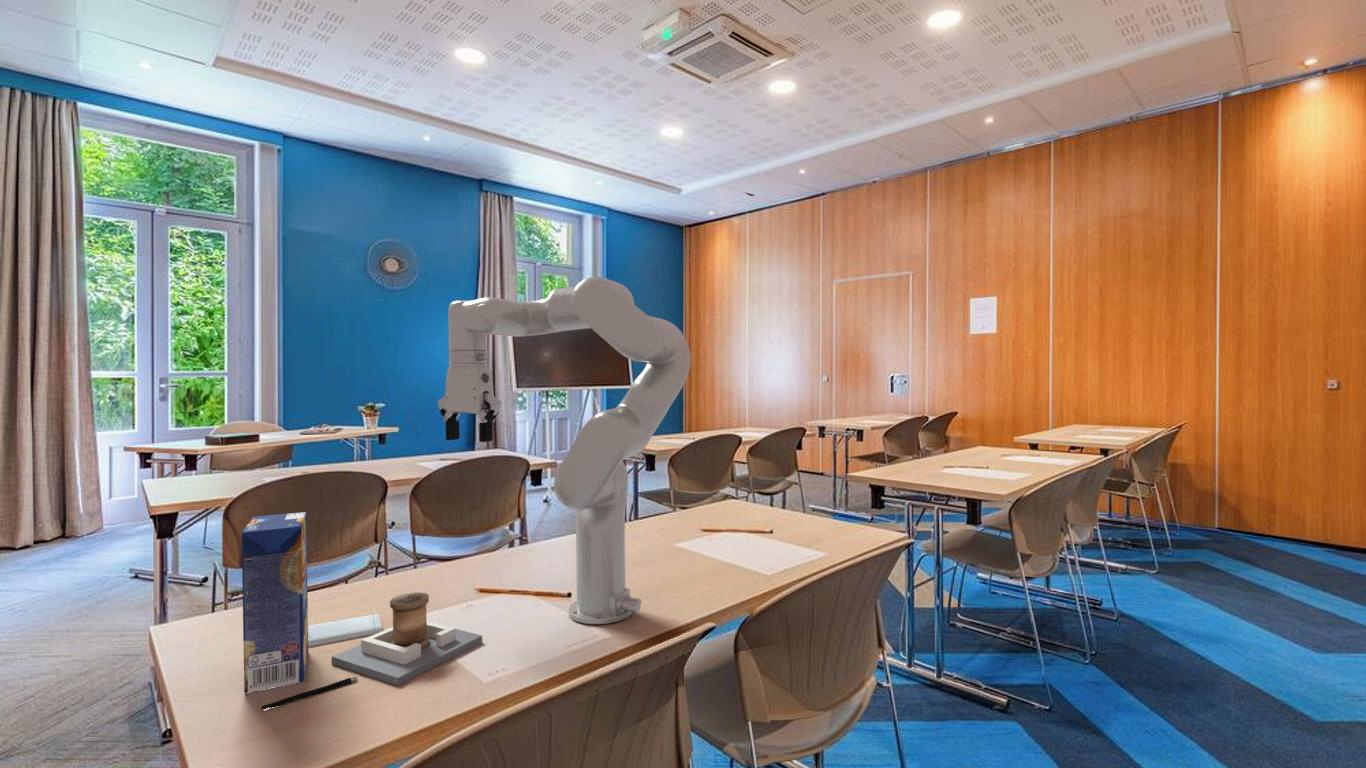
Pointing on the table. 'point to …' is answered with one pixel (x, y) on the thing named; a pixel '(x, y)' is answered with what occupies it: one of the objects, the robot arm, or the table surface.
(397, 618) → the bobbin
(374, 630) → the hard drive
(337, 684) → the black pencil
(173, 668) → the table surface
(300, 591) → the juice carton
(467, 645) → the notched board
